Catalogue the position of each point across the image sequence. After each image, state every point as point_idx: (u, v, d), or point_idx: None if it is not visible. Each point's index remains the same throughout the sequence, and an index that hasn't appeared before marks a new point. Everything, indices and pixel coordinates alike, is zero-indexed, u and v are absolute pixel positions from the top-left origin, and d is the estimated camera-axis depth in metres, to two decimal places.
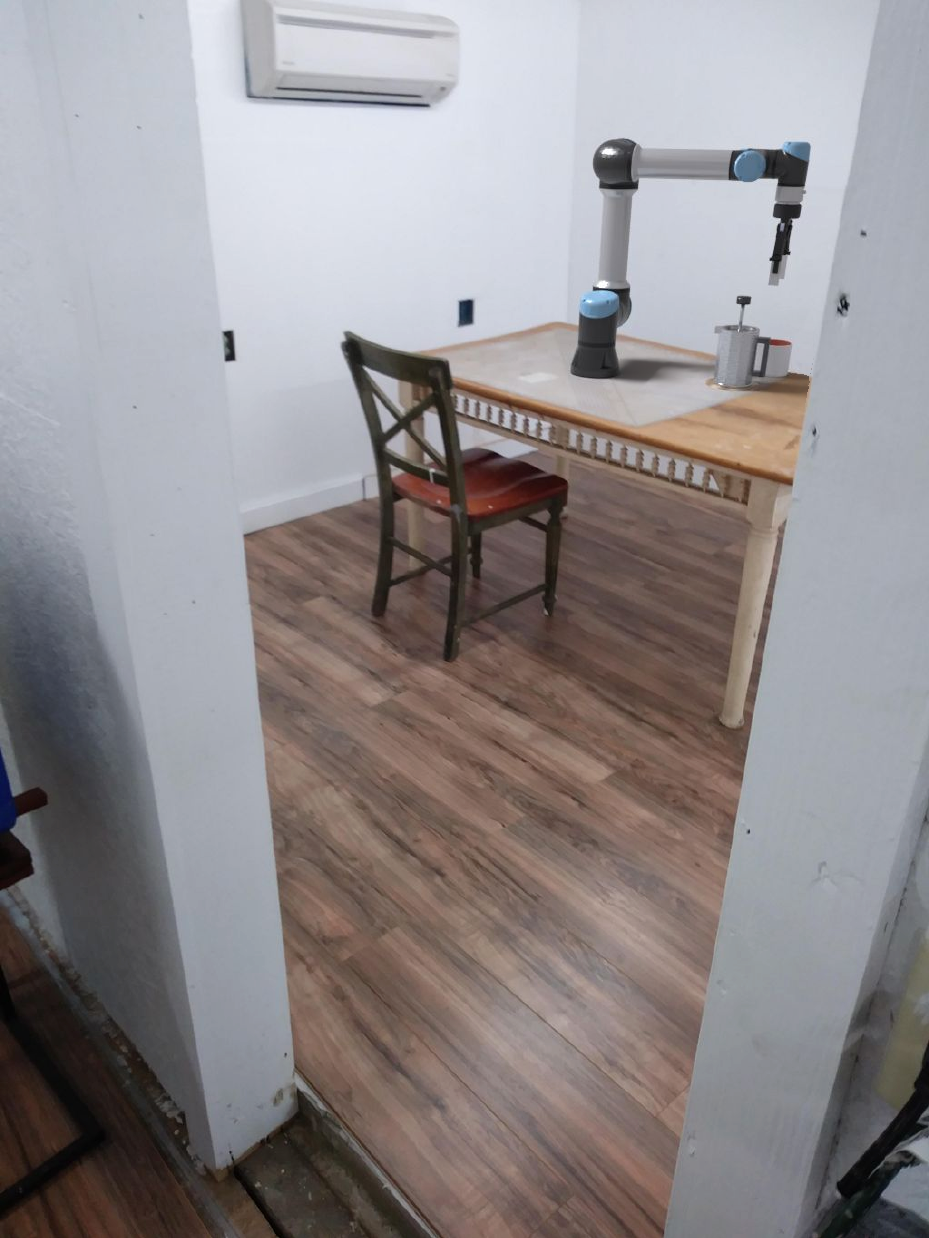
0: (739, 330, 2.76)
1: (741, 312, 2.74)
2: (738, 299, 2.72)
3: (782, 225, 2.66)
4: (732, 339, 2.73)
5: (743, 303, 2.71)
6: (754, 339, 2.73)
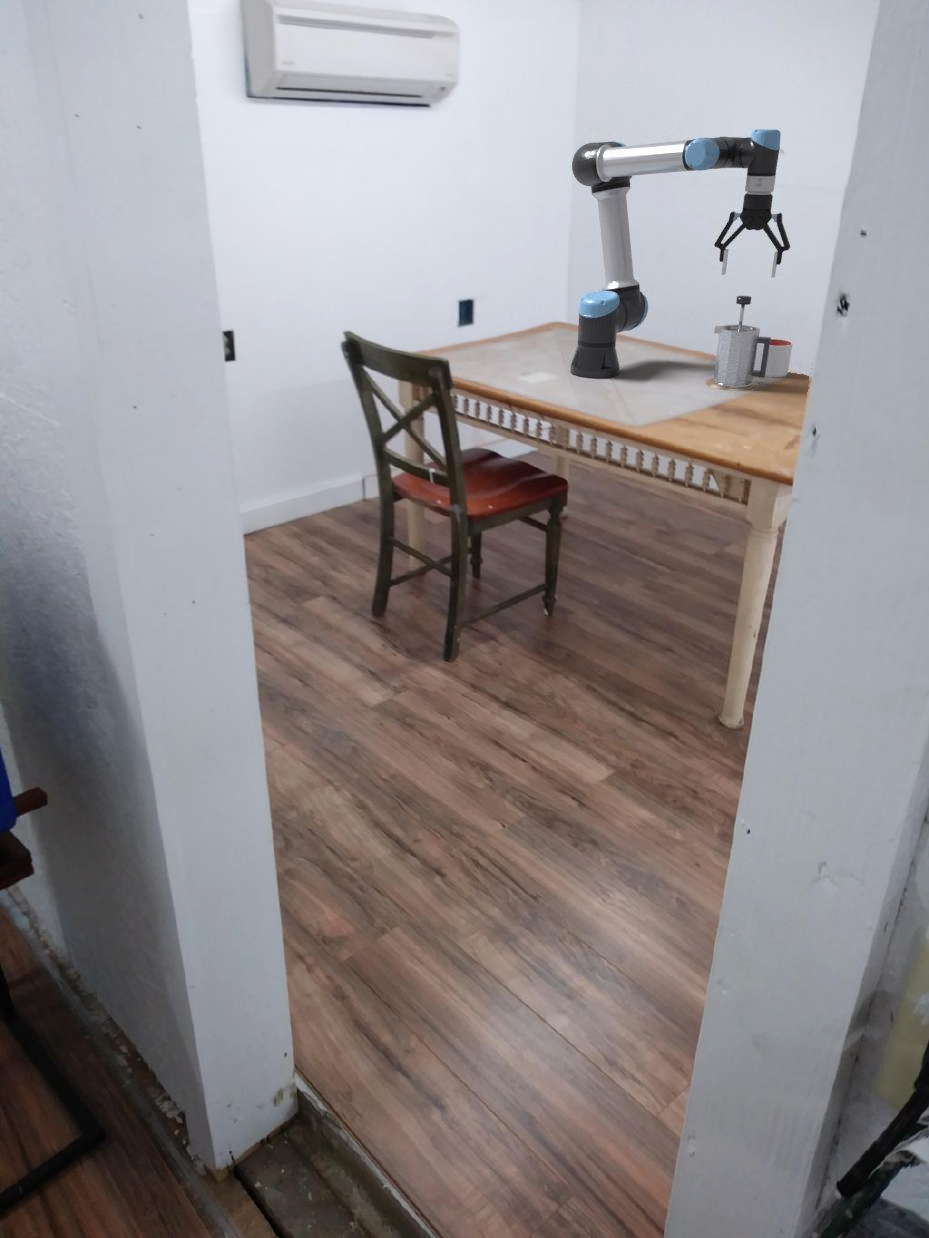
0: (739, 330, 2.76)
1: (741, 312, 2.74)
2: (738, 299, 2.72)
3: None
4: (732, 339, 2.73)
5: (743, 303, 2.71)
6: (754, 339, 2.73)
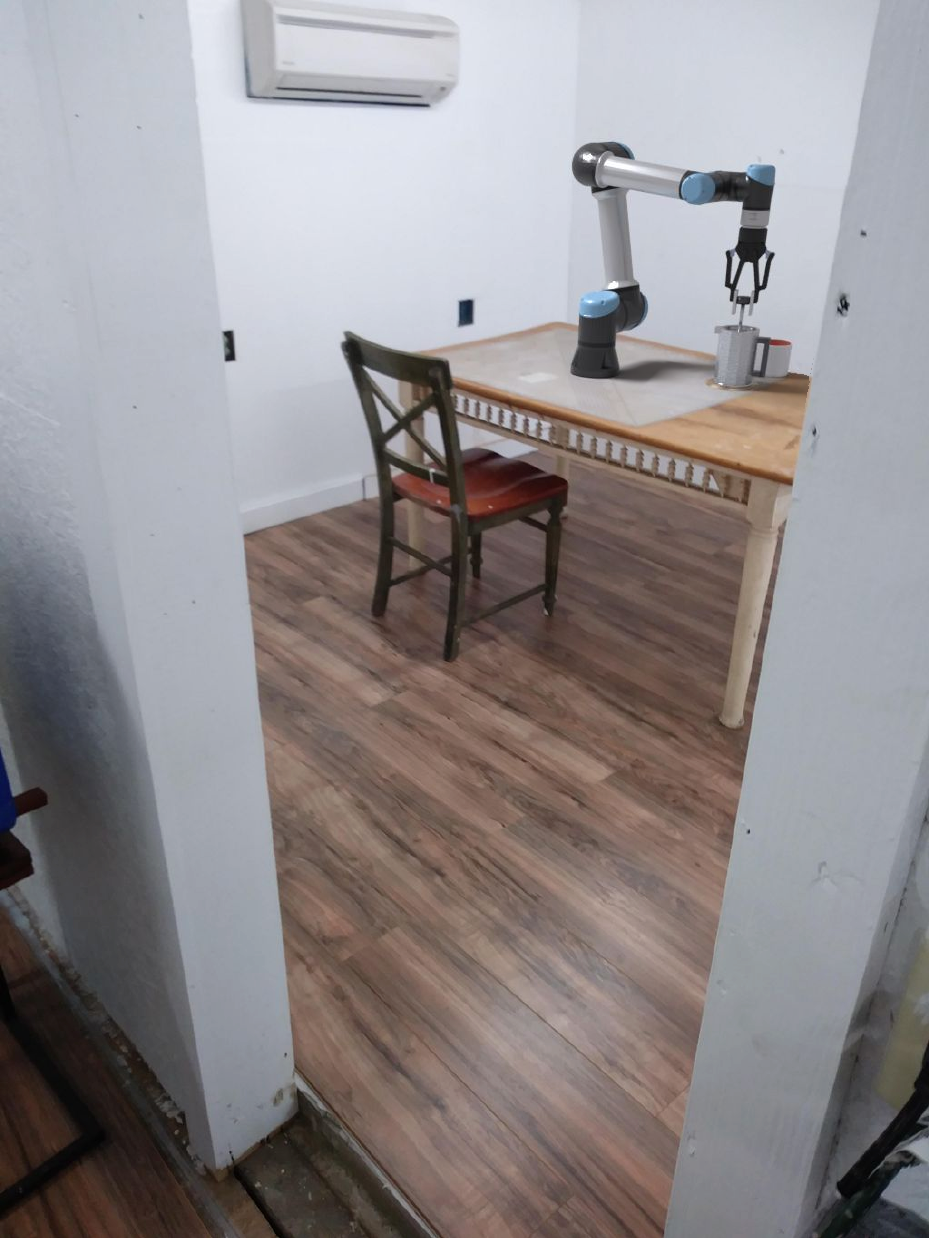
0: (739, 330, 2.76)
1: (741, 312, 2.74)
2: (738, 299, 2.72)
3: None
4: (732, 339, 2.73)
5: (743, 303, 2.71)
6: (754, 339, 2.73)
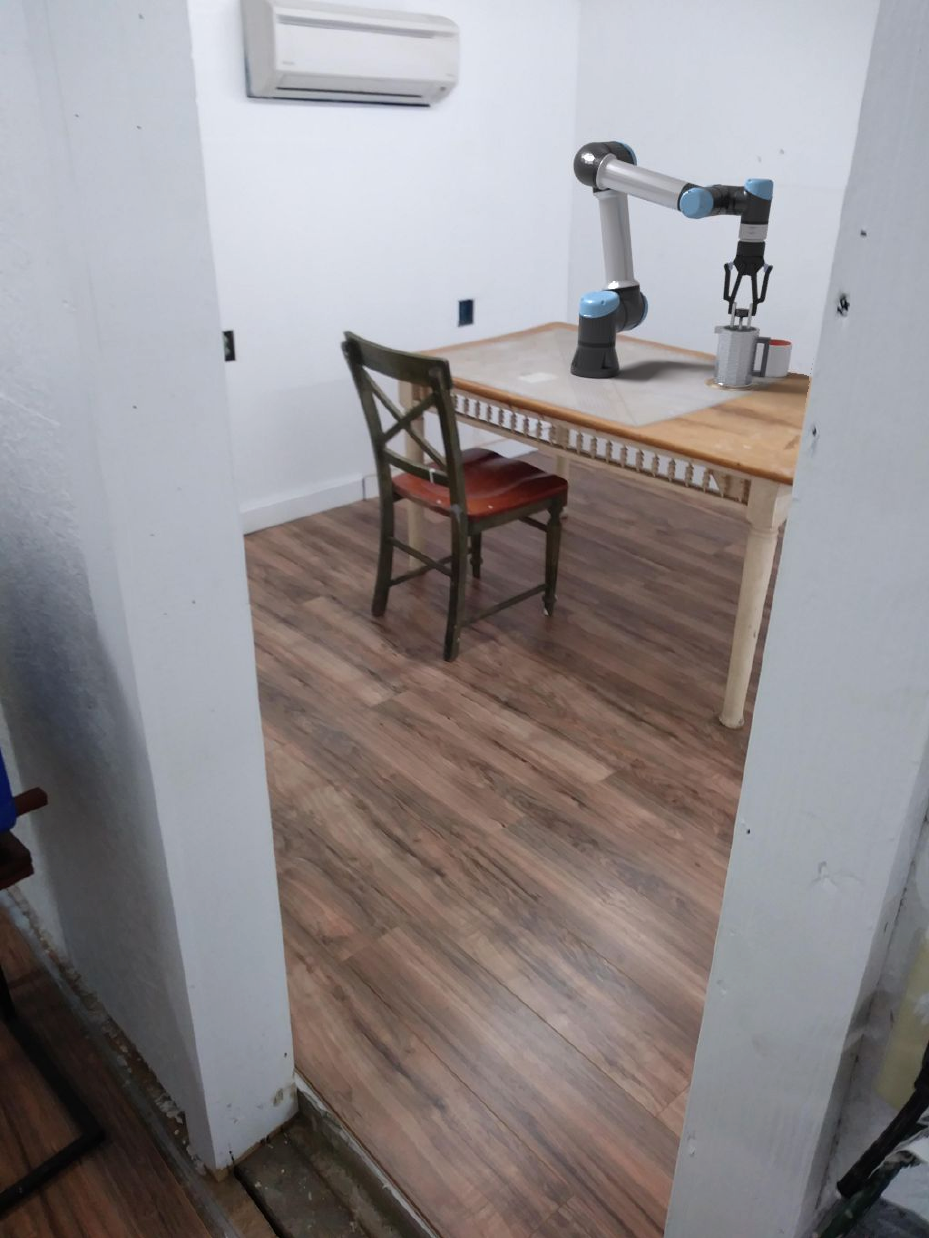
0: None
1: (739, 325, 2.75)
2: (736, 312, 2.73)
3: None
4: (732, 339, 2.73)
5: (741, 316, 2.73)
6: (754, 339, 2.73)
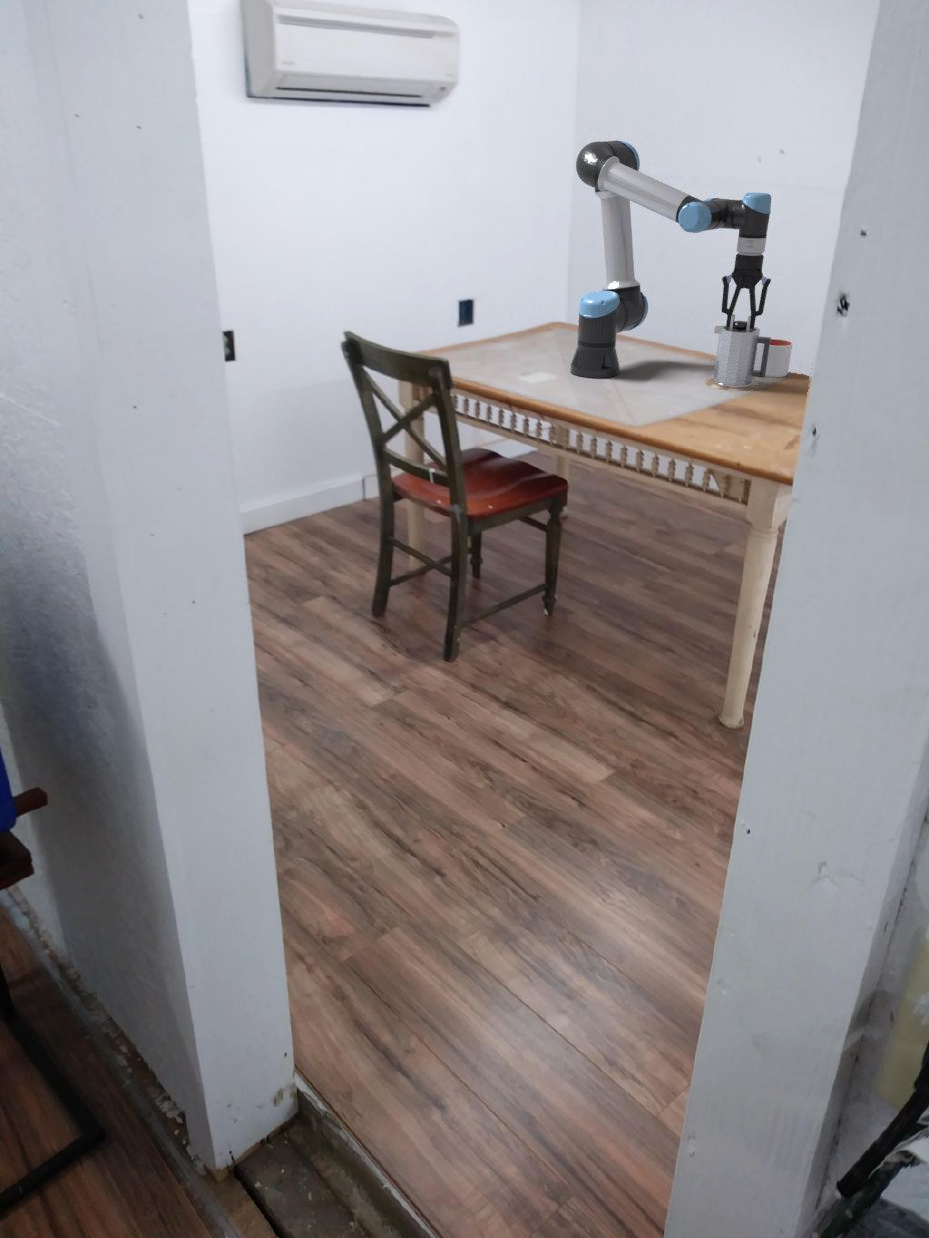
0: None
1: None
2: (735, 324, 2.75)
3: None
4: (732, 339, 2.73)
5: (740, 328, 2.74)
6: (754, 339, 2.73)
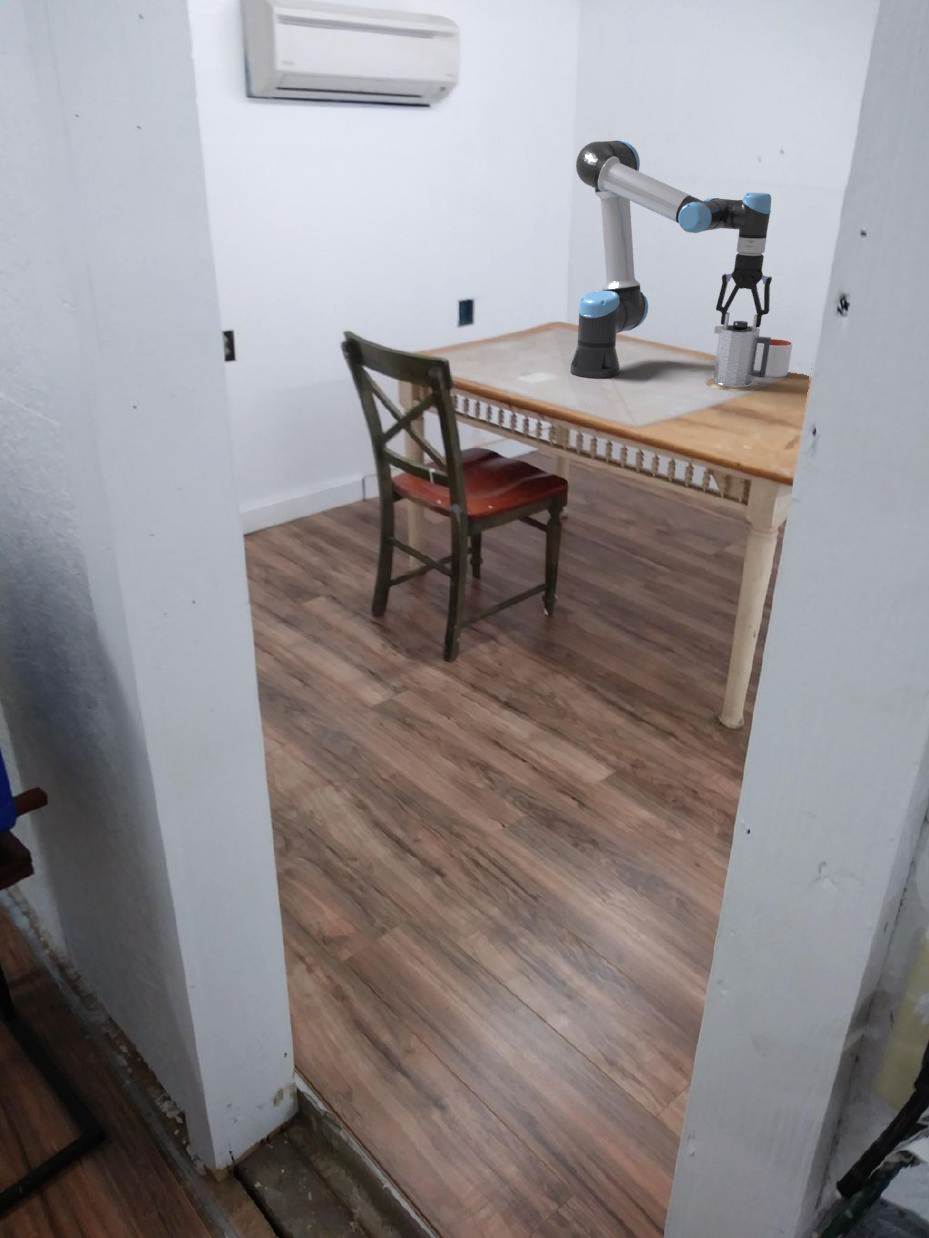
0: None
1: None
2: (735, 324, 2.75)
3: (722, 276, 2.72)
4: (732, 339, 2.73)
5: (740, 328, 2.74)
6: (754, 339, 2.73)
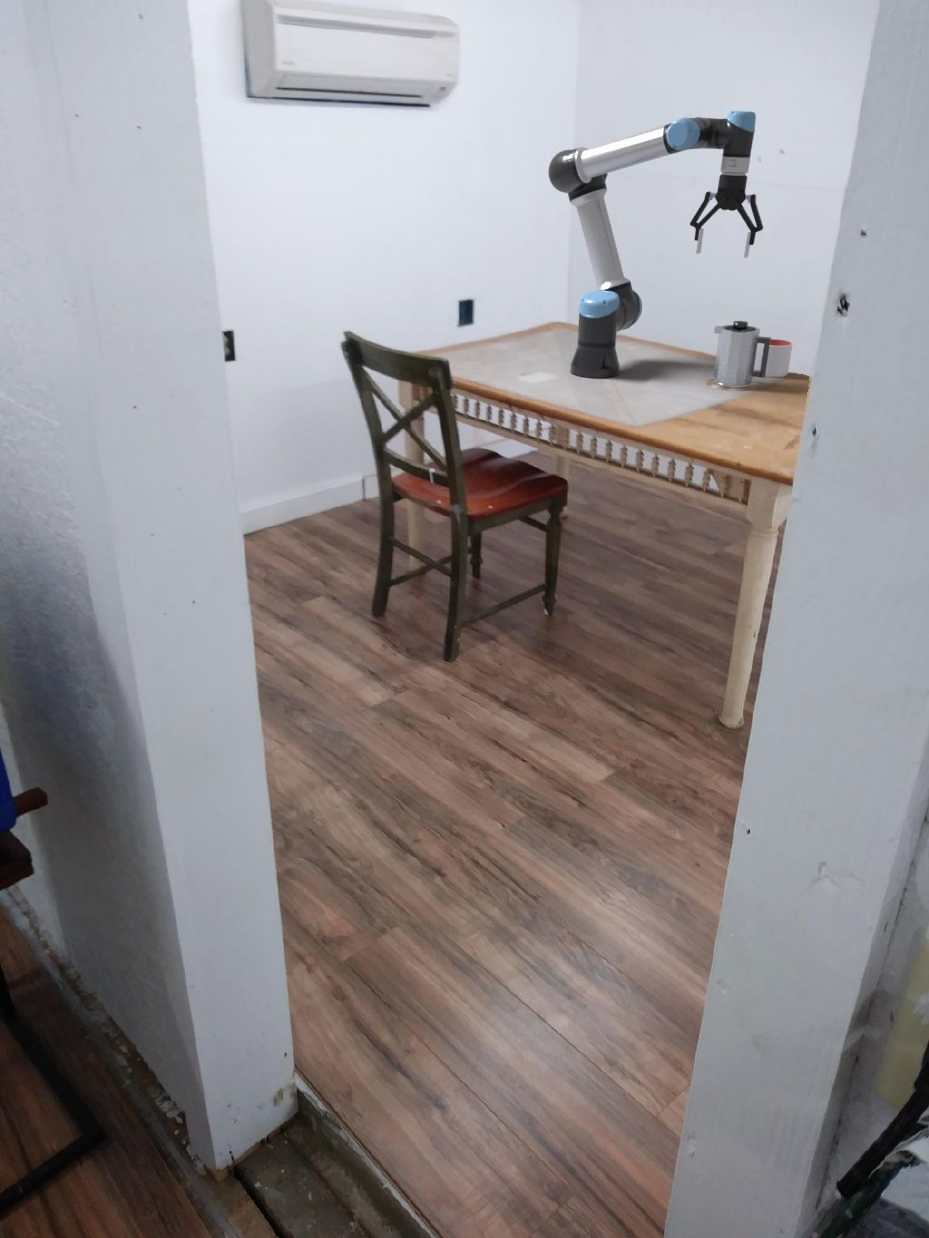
0: None
1: None
2: (735, 324, 2.75)
3: None
4: (732, 339, 2.73)
5: (740, 328, 2.74)
6: (754, 339, 2.73)
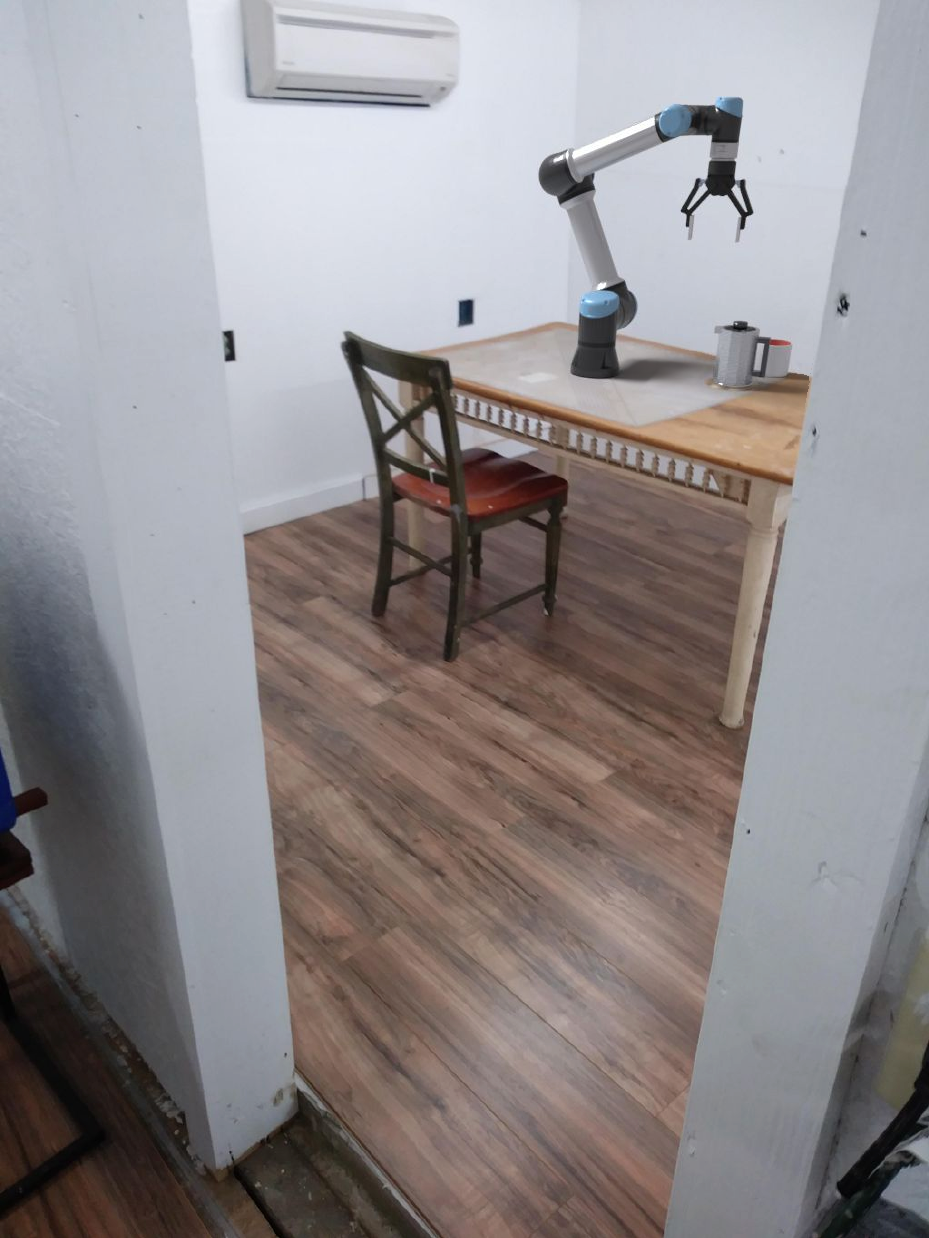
0: None
1: None
2: (735, 324, 2.75)
3: (696, 180, 2.73)
4: (732, 339, 2.73)
5: (740, 328, 2.74)
6: (754, 339, 2.73)
